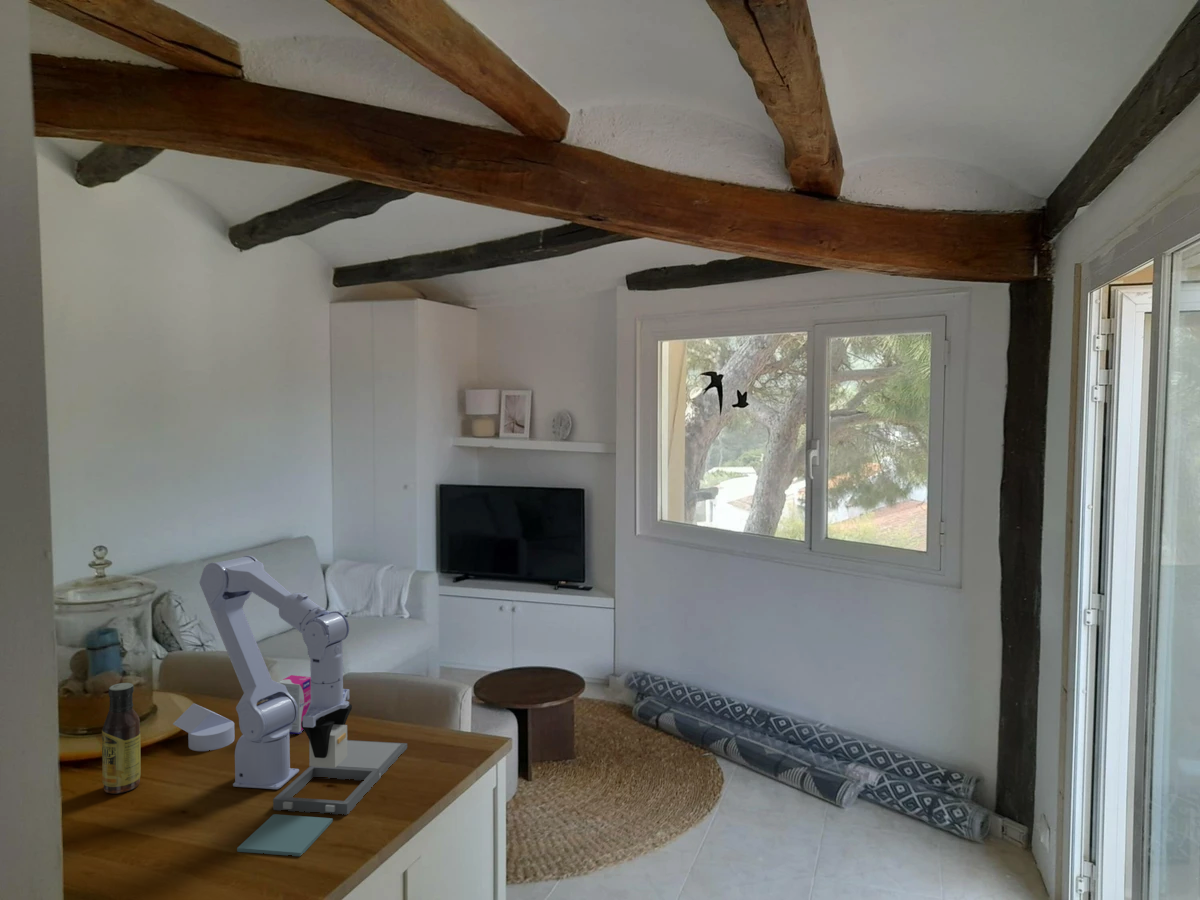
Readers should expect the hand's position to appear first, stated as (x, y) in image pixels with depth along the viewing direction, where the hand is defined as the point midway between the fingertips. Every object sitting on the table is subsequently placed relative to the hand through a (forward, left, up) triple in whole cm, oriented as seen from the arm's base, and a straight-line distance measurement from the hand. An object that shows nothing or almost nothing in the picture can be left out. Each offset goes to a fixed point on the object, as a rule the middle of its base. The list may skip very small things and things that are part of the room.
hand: (327, 750), depth 148 cm
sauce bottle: (-40, -3, -8) cm, 41 cm away
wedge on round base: (-38, +20, -8) cm, 44 cm away
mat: (0, -15, -8) cm, 17 cm away
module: (0, 0, -2) cm, 2 cm away
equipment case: (0, +7, -8) cm, 11 cm away
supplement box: (-22, +28, -8) cm, 37 cm away
